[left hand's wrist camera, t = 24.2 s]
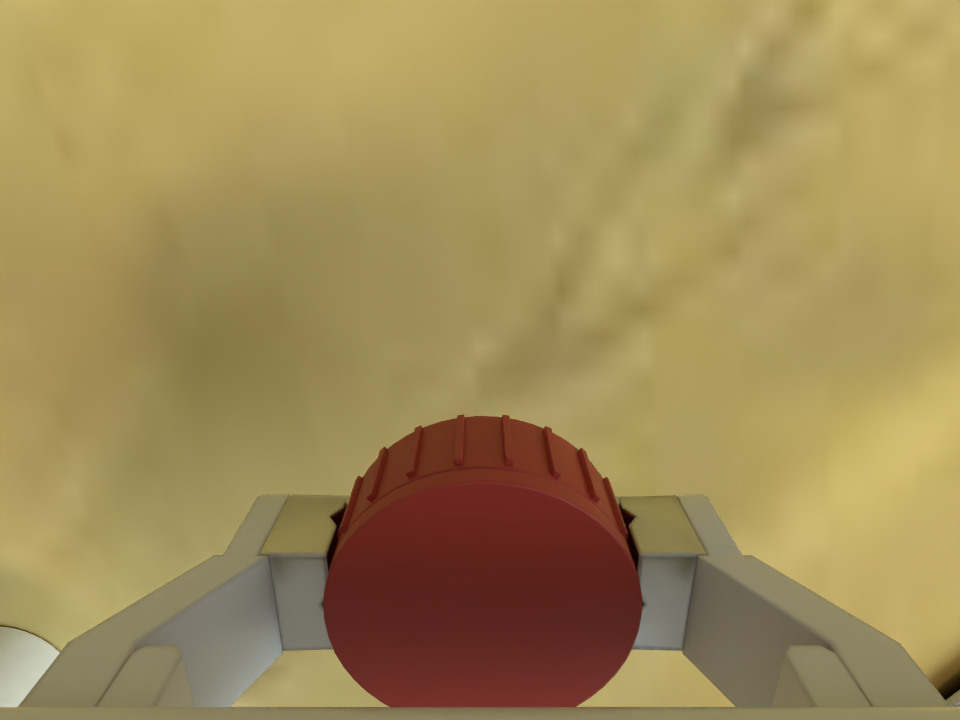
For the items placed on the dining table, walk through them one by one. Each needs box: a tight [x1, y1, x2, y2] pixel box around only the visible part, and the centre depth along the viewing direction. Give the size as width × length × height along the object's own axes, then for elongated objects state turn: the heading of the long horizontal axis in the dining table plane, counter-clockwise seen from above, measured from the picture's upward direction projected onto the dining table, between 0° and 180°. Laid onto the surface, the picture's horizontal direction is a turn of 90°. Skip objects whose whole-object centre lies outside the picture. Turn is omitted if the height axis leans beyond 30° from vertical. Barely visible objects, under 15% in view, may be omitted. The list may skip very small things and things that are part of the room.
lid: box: [323, 415, 642, 707], centre depth 10 cm, size 5×5×2 cm
